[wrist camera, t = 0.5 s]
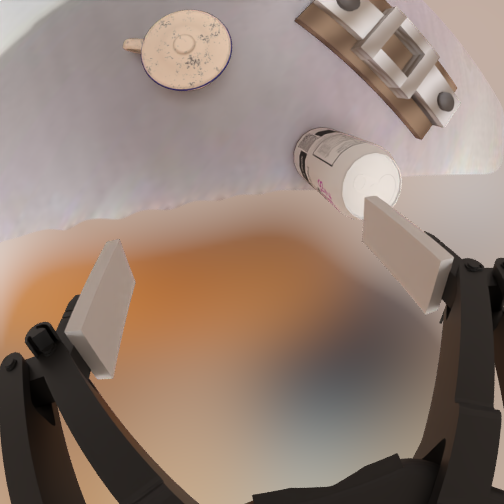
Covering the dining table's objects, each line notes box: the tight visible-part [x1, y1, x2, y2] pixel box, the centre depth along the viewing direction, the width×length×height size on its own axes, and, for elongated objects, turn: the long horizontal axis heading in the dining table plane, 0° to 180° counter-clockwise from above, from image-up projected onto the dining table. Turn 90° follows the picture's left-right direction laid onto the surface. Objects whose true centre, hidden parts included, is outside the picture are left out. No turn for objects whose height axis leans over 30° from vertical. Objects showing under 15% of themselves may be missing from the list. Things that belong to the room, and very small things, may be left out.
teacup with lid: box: [123, 10, 232, 91], centre depth 25 cm, size 12×9×12 cm
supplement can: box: [294, 128, 402, 220], centre depth 33 cm, size 8×8×15 cm
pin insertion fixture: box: [295, 0, 461, 140], centre depth 30 cm, size 26×13×6 cm, turn 54°
